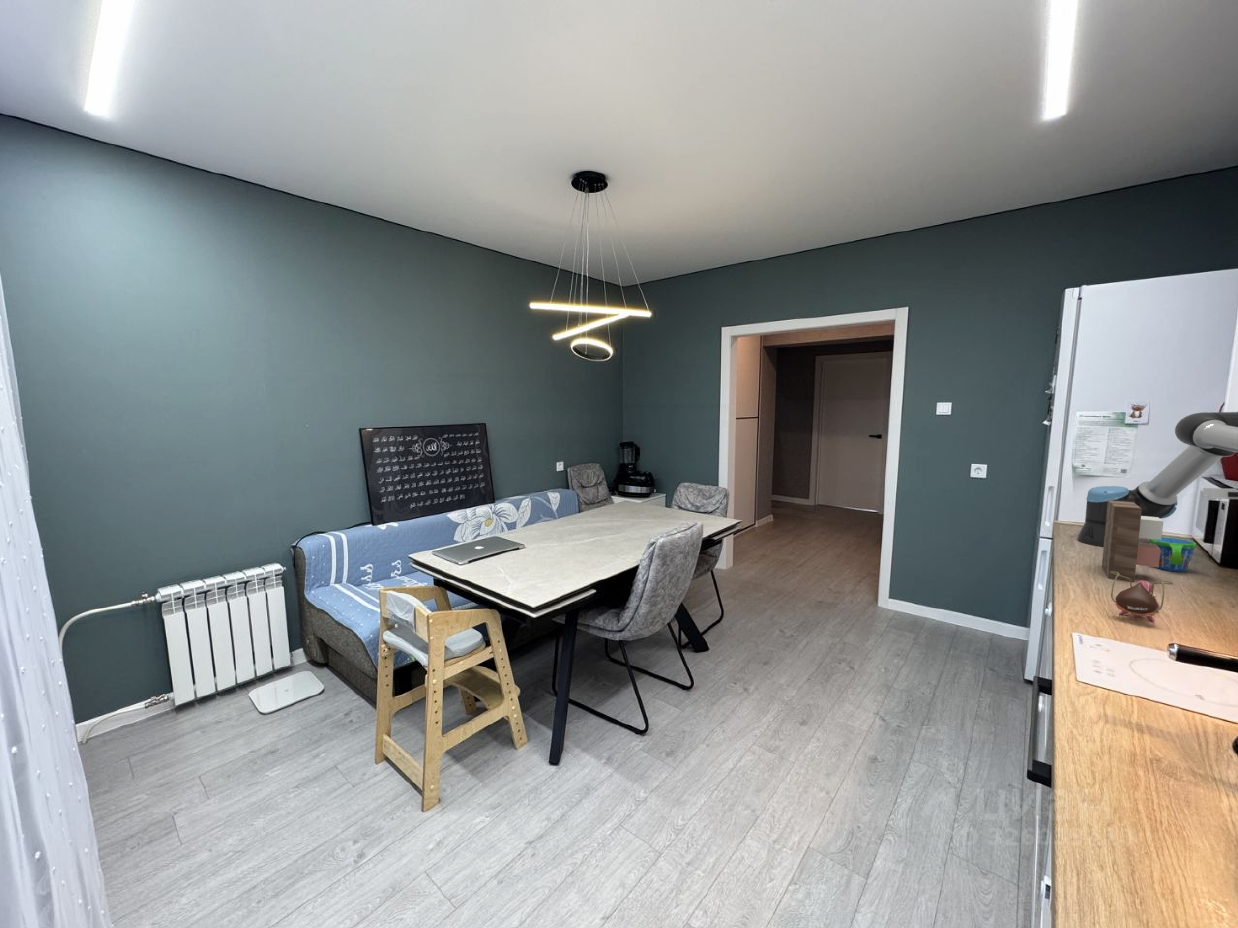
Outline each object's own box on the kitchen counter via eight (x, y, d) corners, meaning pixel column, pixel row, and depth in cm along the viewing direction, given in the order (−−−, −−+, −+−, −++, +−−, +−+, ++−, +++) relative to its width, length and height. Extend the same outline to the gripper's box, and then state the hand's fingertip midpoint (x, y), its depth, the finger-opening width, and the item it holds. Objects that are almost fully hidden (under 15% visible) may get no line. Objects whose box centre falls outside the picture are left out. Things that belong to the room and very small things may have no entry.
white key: (1134, 533, 162) (1135, 515, 162) (1156, 535, 159) (1158, 517, 159) (1138, 537, 157) (1140, 519, 156) (1161, 539, 154) (1163, 521, 153)
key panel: (1101, 567, 171) (1107, 500, 168) (1126, 570, 167) (1132, 501, 164) (1108, 578, 160) (1114, 506, 157) (1134, 582, 156) (1141, 508, 153)
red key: (1131, 559, 163) (1133, 541, 163) (1153, 561, 160) (1155, 544, 160) (1135, 564, 158) (1137, 546, 157) (1158, 567, 155) (1160, 548, 154)
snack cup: (1146, 560, 177) (1149, 533, 176) (1191, 567, 170) (1194, 538, 168) (1147, 570, 166) (1150, 541, 165) (1195, 578, 159) (1198, 547, 158)
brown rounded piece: (1176, 597, 134) (1176, 561, 126) (1167, 645, 128) (1167, 610, 120) (1117, 586, 143) (1114, 551, 135) (1107, 630, 137) (1103, 597, 129)
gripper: (1340, 511, 127) (1212, 507, 142) (1312, 506, 144) (1201, 503, 159) (1340, 483, 127) (1212, 481, 142) (1312, 481, 144) (1200, 480, 159)
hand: (1206, 493), depth 150 cm, fingers open, 13 cm apart
